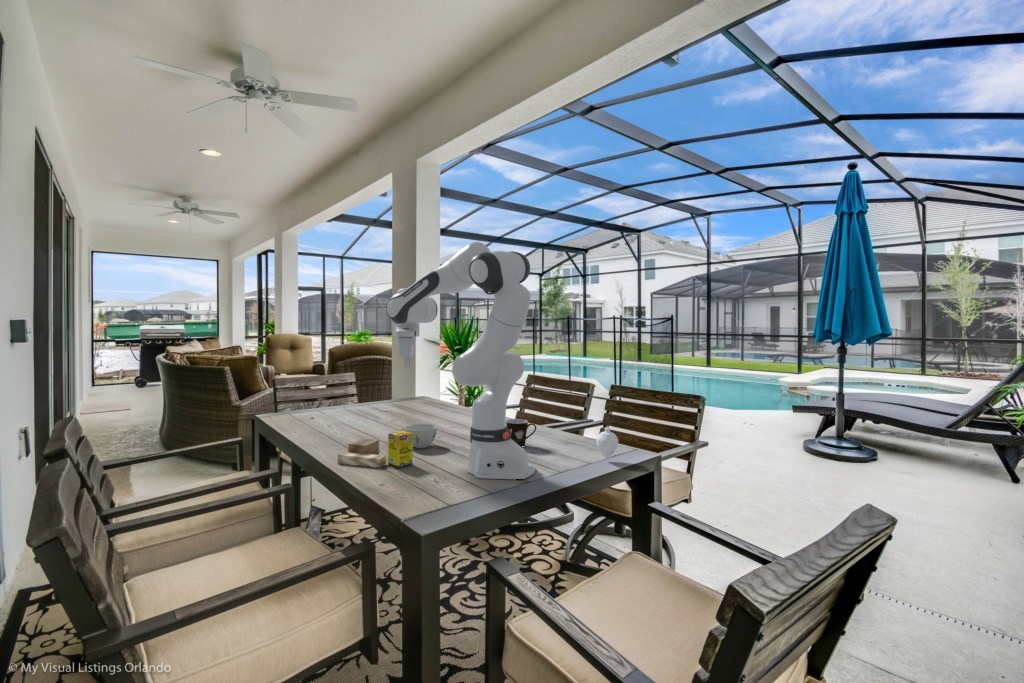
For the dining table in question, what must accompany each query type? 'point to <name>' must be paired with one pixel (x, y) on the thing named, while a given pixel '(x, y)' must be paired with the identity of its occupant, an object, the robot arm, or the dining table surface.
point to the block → (364, 446)
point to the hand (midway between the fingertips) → (407, 368)
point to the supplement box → (400, 449)
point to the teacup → (422, 434)
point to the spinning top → (607, 442)
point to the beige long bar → (361, 459)
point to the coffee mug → (519, 430)
